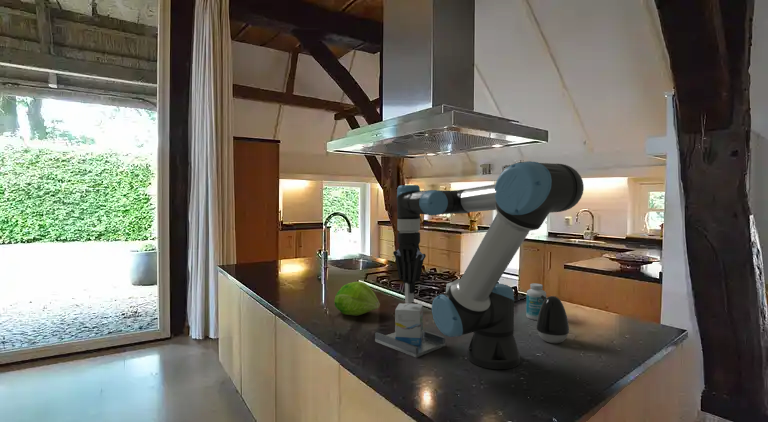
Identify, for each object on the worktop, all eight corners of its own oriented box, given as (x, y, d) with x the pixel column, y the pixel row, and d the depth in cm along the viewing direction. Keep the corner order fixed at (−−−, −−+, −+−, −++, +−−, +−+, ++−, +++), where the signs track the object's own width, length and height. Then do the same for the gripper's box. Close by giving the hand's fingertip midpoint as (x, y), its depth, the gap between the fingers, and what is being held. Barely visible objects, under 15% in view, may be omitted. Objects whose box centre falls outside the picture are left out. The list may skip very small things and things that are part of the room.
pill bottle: (527, 320, 161) (527, 286, 160) (525, 314, 168) (525, 282, 168) (547, 321, 159) (547, 287, 159) (544, 315, 166) (544, 283, 166)
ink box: (420, 346, 132) (420, 310, 131) (394, 344, 133) (394, 309, 133) (423, 337, 140) (423, 303, 140) (399, 335, 142) (398, 302, 141)
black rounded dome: (552, 333, 145) (552, 291, 145) (575, 343, 135) (576, 298, 135) (529, 337, 141) (529, 294, 141) (551, 348, 132) (552, 301, 131)
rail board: (445, 345, 134) (445, 336, 134) (416, 357, 125) (416, 348, 125) (404, 332, 148) (404, 323, 148) (375, 341, 139) (375, 332, 139)
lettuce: (368, 323, 159) (368, 288, 159) (325, 316, 168) (325, 284, 168) (386, 312, 173) (385, 281, 172) (345, 307, 182) (345, 277, 181)
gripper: (431, 231, 133) (431, 303, 134) (402, 229, 143) (403, 296, 143) (415, 233, 128) (416, 308, 129) (387, 231, 137) (387, 300, 138)
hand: (409, 302), depth 136 cm, fingers closed
